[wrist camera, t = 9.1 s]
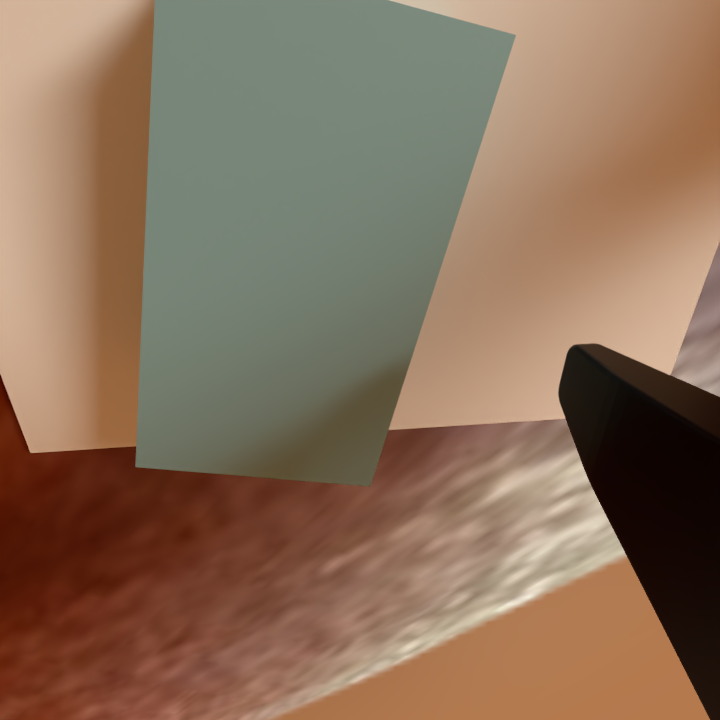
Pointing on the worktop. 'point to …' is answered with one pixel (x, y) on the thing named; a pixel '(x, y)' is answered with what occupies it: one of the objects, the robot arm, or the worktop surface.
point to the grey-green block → (298, 224)
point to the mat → (468, 240)
